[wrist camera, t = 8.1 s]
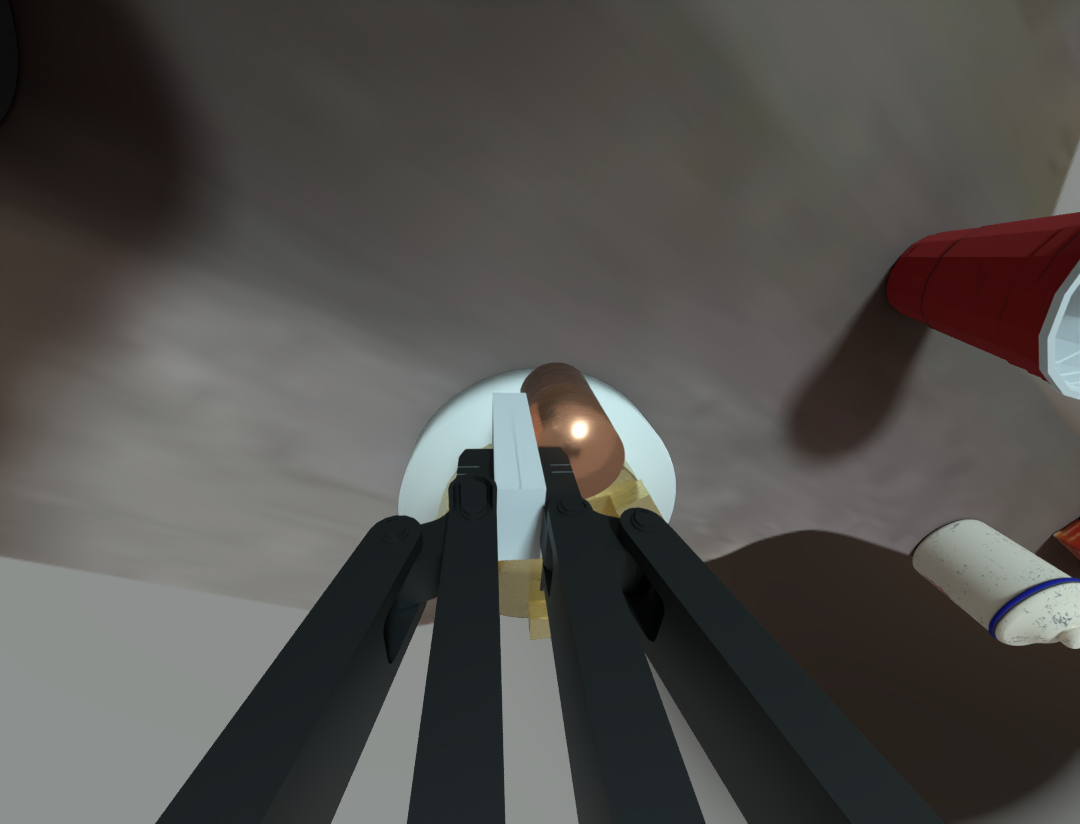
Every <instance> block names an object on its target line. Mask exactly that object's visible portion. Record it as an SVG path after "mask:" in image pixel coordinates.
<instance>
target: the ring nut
mask: <svg viewBox="0 0 1080 824" xmlns="http://www.w3.org/2000/svg"><path fill="white" fill-rule="evenodd" d="M520 393H526V396H527V401H528V405H529V410H530V414H531V419H532V424H533V428H534V433H535V438H536V442H537V447H560V448H561V449H562V450H563V451H564V452H565V453H566V454H567V455H568V458H569V461H570V465H571V467H572V470H573V473H574V476H575V479H576V482H577V485H578V488H579V491H580V494H581V497H582V498H584V499H585V500H587V501H588V502H589V503H590V505H591V506H592V508H593V510H594V511H596V512H598V513H600V514H604V515H608V516H612V517H617V518H620V516H621V514H622V513H623V512H624V511H625V510H627V509H629V508H637V507H639V508H644V509H648V510H651V511H653V512H655V513H657V514H658V515H659V516H660V517H662V515H661V513H660V512H659V510H658V508H657V506H656V505H655V503H654V501H653V499H652V498H651V496H650V494H649V492H648V491H647V489H646V487H645V486H644V484H643V482H642V480H641V479H640V480H638V479H637V477H636V475H635V473H634V472H633V470H632V468H631V467H630V465H629V464H628V463H627V461H626V460H625V450H624V446H623V443H622V441H621V439H620V437H619V435H618V433H617V432H616V430H615V428H614V427H613V425H612V423H611V422H610V420H609V418H608V416H607V415H606V413H605V411H604V410H603V408H602V406H601V404H600V403H599V401H598V399H597V398H596V396H595V394H594V393H593V391H592V389H591V387H590V386H589V384H588V382H587V381H586V379H585V377H584V376H583V375H582V373H581V372H580V371H579V370H577V369H576V368H574V367H573V366H570V365H568V364H564V363H549V364H545V365H542V366H540V367H538V368H536V369H535V370H533V371H532V372H531V373H529V375H528V376H527V377H526V379H525V380H524V382H523V384H522V386H521V389H520ZM482 449H492V443H491V444H489V445H487V446H485V447H483V448H482ZM456 475H457V470H456V472H455V473H454V474H453V476H452V477H451V479H450V480H449V482H448V484H447V486H446V488H445V490H444V492H443V495H442V499H441V502H440V507H439V512H438V515H437V517H436V518H435V520H437V519H439V518H440V517H442V516H444V515H445V514H446V513H447V512H448V511H449V498H448V487H449V485H450V483H451V482H452V481H453V480H454V479H455V478H456ZM662 518H663V517H662ZM542 563H543V560H542V554H541V550H540V559H523V560H500V561H498V574H499V611H500V615H504V616H509V617H518V618H529V629H530V640H535V639H543V638H551V634H550V627H549V620H548V613H547V607H546V600H545V593H544V590H543V591H540V583H541V573H542Z"/></svg>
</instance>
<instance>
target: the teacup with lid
mask: <svg viewBox="0 0 1080 824" xmlns="http://www.w3.org/2000/svg"><path fill="white" fill-rule="evenodd" d="M912 563H913V566H914V568H915V569H916V571H918V572H919V573H920V574H921V575H922V576H924V577H925V578H926V579H927V580H928V581H930V582H931V583H932V584H933V585H934V586H936V587H937V588H938V589H939V590H940V591H942V592H943V593H944V594H945V595H947V596H948V597H949V598H950V599H952V600H953V601H954V602H955V603H956V604H958V605H959V606H960V607H961V608H962V609H963V610H965V611H966V612H967V613H968V614H970V615H971V616H972V617H973V618H974V619H976V620H977V621H978V622H979V623H980V624H982V625H983V626H984V627H985V628H986V629H988V630H989V633H990V635H991V636H993V638H995V639H997V640H999V641H1001V642H1003V643H1005V644H1009V645H1017V646H1020V645H1028V644H1032V643H1054V642H1058V641H1061V642H1062V643H1063V644H1064V645H1066V646H1067V647H1070V648H1073V649H1078V648H1080V579H1077V578H1072V577H1070V576H1069V575H1067V574H1065V573H1064V572H1062V571H1061V570H1059V569H1057V568H1056V567H1054V566H1052V565H1051V564H1049V563H1048V562H1046V561H1044V560H1043V559H1041V558H1040V557H1038V556H1036V555H1035V554H1033V553H1031V552H1030V551H1028V550H1027V549H1025V548H1023V547H1022V546H1020V545H1018V544H1017V543H1015V542H1014V541H1012V540H1010V539H1009V538H1007V537H1006V536H1004V535H1002V534H1001V533H999V532H997V531H996V530H994V529H993V528H991V527H989V526H988V525H986V524H984V523H983V522H981V521H978V520H971V519H967V520H960V521H955V522H952V523H949V524H947V525H945V526H943V527H941V528H939V529H937V530H936V531H934V532H933V533H931V534H930V535H929V536H927V537H926V538H925V539H924V540H923V541H922V542H921V543H920V544H919V546H918V547H917V548H916V550H915V552H914V555H913V558H912Z"/></svg>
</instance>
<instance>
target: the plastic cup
mask: <svg viewBox="0 0 1080 824" xmlns="http://www.w3.org/2000/svg"><path fill="white" fill-rule="evenodd" d="M886 291H887V300H888V301H889V303H890V304H891V305H892V307H893V308H894V309H896V310H898V311H899V312H900V313H901V314H904V315H906V316H908V317H911V318H913V319H916V320H918V321H920V322H923V323H925V324H927V325H928V326H929V327H930V328H932V329H935V330H937V331H939V332H942V333H944V334H946V335H949V336H951V337H953V338H956V339H958V340H960V341H963V342H965V343H967V344H970V345H972V346H974V347H977V348H979V349H981V350H984V351H986V352H988V353H991V354H993V355H995V356H998V357H1000V358H1002V359H1005V360H1007V361H1008V362H1009V363H1010V364H1013V365H1015V366H1018V367H1020V368H1023V369H1025V370H1027V371H1028V373H1031V374H1033V375H1036V376H1039V377H1041V378H1042V379H1043V380H1045V381H1047V382H1048V383H1049V384H1050V385H1051V386H1052V388H1053V389H1054V390H1055V391H1057V392H1059V393H1061V394H1063V395H1065V396H1069V397H1073V398H1076V399H1080V212H1077V213H1071V214H1063V215H1056V216H1049V217H1042V218H1035V219H1028V220H1021V221H1014V222H1007V223H1000V224H994V225H988V226H982V227H980V228H971V229H963V230H955V231H948V232H942V233H937V234H936V235H930V236H927V237H925V238H923V239H922V240H920V241H918V242H916V243H914V244H913V245H912V246H911V247H910V248H909V249H908V250H907V251H906V252H905V253H904V254H903V255H902V256H901V257H900V258H899V259H898V261H897V263H896V264H895V266H894V267H893V269H892V271H891V272H890V276H889V279H888V283H887V286H886Z"/></svg>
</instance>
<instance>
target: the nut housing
mask: <svg viewBox="0 0 1080 824" xmlns="http://www.w3.org/2000/svg"><path fill="white" fill-rule="evenodd" d="M535 369H536V368H531V369H520V370H515V371H510V372H505V373H501V374H498V375H495V376H492V377H489V378H486V379H484V380H482V381H480V382H478V383H475V384H473V385H471V386H469V387H467V388H466V389H464V390H463V391H461V392H460V393H458V394H457V395H455V396H454V397H452V398H451V399H450V400H449V401H448V402H446V403H445V404H444V405H443V406H442V407H441V408H440V409H439V410H438V411H437V412H436V413H435V414H434V415H433V417H432V418H431V419H430V420H429V421H428V423H427V424H426V426H425V427H424V429H423V430H422V432H421V434H420V435H419V438H418V440H417V442H416V444H415V447H414V449H413V452H412V455H411V458H410V461H409V464H408V467H407V469H406V472H405V475H404V478H403V482H402V486H401V490H400V494H399V506H398V512H399V515H406V516H409V517H412V518H415V519H416V520H417V521H418V522H419V523H420V524H424V523H427V522H431V521H434V520H435V518H436V517H437V515H438V512H439V507H440V502H441V499H442V495H443V492H444V490H445V488H446V486H447V484H448V482H449V480H450V479H451V477H452V476H453V474H454V473H455V472H456V470H457V468H458V459H459V456H460V455H461V454H462V452H463V451H464V450H465V449H482V448H483V447H485V446H487V445H489V444H491V443H492V405H493V393H520V389H521V386H522V384H523V382H524V380H525V379H526V377H527V376H528V375H529V373H531V372H532V371H533V370H535ZM582 375H583V376H584V377H585V379H586V381H587V382H588V384H589V386H590V387H591V389H592V391H593V393H594V394H595V396H596V398H597V399H598V401H599V403H600V404H601V406H602V408H603V410H604V411H605V413H606V415H607V416H608V418H609V420H610V422H611V423H612V425H613V427H614V428H615V430H616V432H617V433H618V435H619V437H620V439H621V441H622V443H623V446H624V450H625V460H626V461H627V463H628V464H629V465H630V467H631V468H632V470H633V472H634V473H635V475H636V477H637V479H638V480H640V479H641V480H642V482H643V484H644V486H645V487H646V489H647V491H648V492H649V494H650V496H651V498H652V499H653V501H654V503H655V505H656V506H657V508H658V510H659V512H660V513H661V515H662V517H663V519H664V520H665V521H666V522H667V523H669V520H670V517H671V514H672V511H673V507H674V501H675V494H676V480H675V474H674V468H673V464H672V461H671V459H670V456H669V453H668V451H667V449H666V447H665V446H664V444H663V442H662V440H661V439H660V437H659V436H658V435H657V434H656V432H655V431H654V430H653V428H652V427H651V426H650V424H649V423H648V422H647V421H646V419H645V418H644V417H643V415H642V414H641V413H640V412H639V410H638V409H637V408H636V407H635V405H634V404H633V403H632V402H631V401H630V400H629V399H627V398H626V397H625V396H624V395H623V394H622V393H621V392H619V391H618V390H616V389H615V388H613V387H611V386H610V385H608V384H607V383H604V382H602V381H600V380H598V379H596V378H594V377H591V376H588V375H585V374H582Z"/></svg>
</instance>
